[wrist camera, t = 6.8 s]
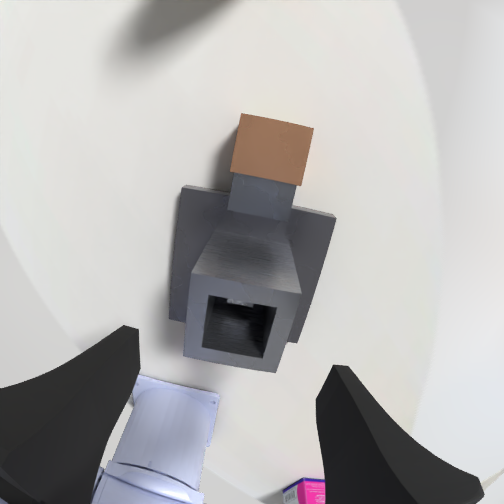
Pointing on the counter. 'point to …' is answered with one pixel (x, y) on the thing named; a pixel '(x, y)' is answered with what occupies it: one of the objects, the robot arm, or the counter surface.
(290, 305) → the hollow square tube
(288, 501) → the supplement box
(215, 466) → the counter surface
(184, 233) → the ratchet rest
